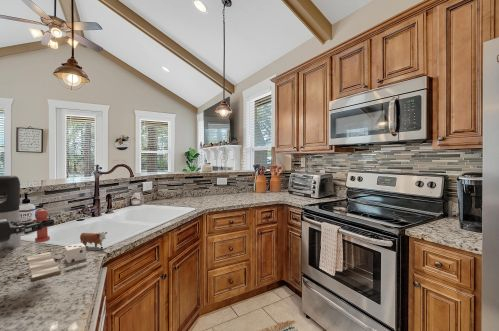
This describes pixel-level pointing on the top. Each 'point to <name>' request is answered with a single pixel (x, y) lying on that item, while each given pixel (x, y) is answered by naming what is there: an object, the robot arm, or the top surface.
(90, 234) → the bull figurine
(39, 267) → the track board
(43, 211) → the pawn
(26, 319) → the top surface
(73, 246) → the die
